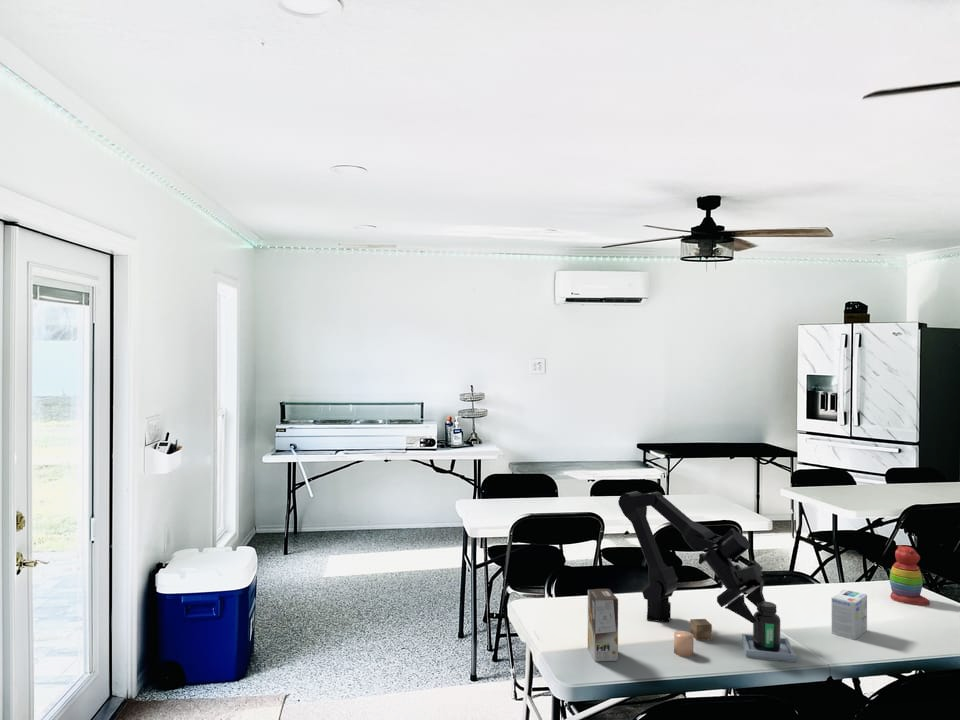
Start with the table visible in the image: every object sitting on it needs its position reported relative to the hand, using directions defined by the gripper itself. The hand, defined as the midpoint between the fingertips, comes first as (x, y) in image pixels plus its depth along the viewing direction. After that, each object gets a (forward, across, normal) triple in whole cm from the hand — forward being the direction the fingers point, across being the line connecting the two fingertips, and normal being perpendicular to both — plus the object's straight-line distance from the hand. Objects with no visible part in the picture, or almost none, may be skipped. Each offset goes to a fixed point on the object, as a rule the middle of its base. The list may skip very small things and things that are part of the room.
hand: (761, 618), depth 188 cm
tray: (+7, 0, +5) cm, 9 cm away
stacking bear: (+18, +76, -6) cm, 78 cm away
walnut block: (-5, -4, +17) cm, 18 cm away
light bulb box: (+15, +31, -3) cm, 34 cm away
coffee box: (-13, -34, +26) cm, 45 cm away
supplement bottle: (+7, 0, +4) cm, 8 cm away
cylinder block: (-3, -18, +16) cm, 24 cm away
